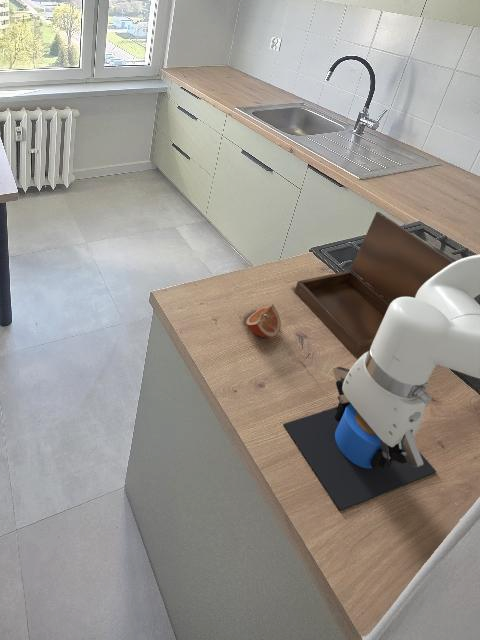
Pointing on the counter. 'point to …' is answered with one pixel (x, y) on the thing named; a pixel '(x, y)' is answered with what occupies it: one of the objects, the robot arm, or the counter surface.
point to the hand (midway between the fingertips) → (359, 439)
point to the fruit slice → (265, 322)
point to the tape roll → (356, 438)
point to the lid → (396, 259)
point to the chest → (345, 308)
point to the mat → (347, 463)
